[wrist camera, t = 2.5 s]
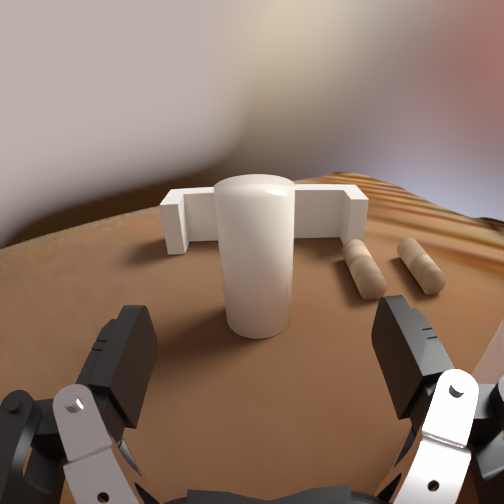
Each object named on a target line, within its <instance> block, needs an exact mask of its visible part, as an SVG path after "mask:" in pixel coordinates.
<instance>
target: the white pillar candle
mask: <svg viewBox="0 0 504 504" xmlns="http://www.w3.org/2000/svg"><path fill="white" fill-rule="evenodd" d="M214 198H215V210H216V221H217V232H218V242H219V253H220V263H221V273H222V282H223V291H224V301H225V310H226V318H227V323H228V325H229V327H230V328H231V329H232V330H233V331H234V332H235V333H237V334H238V335H241V336H243V337H246V338H252V339H264V338H269V337H272V336H275V335H277V334H279V333H280V332H282V331H283V330H284V329H285V328H286V327H287V326H288V324H289V321H290V312H291V292H292V270H293V242H294V204H295V185H294V183H293V182H292V181H290V180H288V179H286V178H283V177H279V176H274V175H262V174H253V175H243V176H236V177H231V178H227V179H225V180H222V181H220V182H218V183H217V184H216V185H215V186H214Z"/></svg>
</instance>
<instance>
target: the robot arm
mask: <svg viewBox="0 0 504 504" xmlns="http://www.w3.org/2000/svg"><path fill="white" fill-rule="evenodd" d="M371 337H372V345H373V348H374V351H375V353H376V356H377V359H378V361H379V364H380V367H381V370H382V373H383V375H384V378H385V381H386V384H387V387H388V390H389V393H390V396H391V399H392V402H393V405H394V408H395V411H396V414H397V417H398V420H400V419H405V418H409V417H410V420H411V423H412V424H411V426H410V427H409V429H408V432H407V434H406V436H405V439H404V441H403V443H402V445H401V448H400V450H399V452H398V454H397V456H396V458H395V460H394V462H393V464H392V466H391V468H390V470H389V472H388V473H387V475H386V477H385V478H384V479H383V481H382V482H381V484H380V485H379V487H378V489H377V490H376V492H375V494H374V495H369V494H366V493H361V492H355V491H350V485H349V484H344V485H337V486H330V487H323V488H314V489H309V490H306V491H303V492H299V493H296V494H293V495H290V496H286V497H283V498H279V499H275V500H271V501H266V500H260V499H255V498H251V497H246V496H242V495H237V494H233V493H229V492H217V491H201V490H189V489H188V492H187V497H183V498H179V499H174V500H171V501H168V502H166V503H163V501H162V500H161V498H160V497H159V495H158V494H157V493H156V491H155V490H154V489H153V487H152V486H151V485H150V484H149V482H148V481H147V479H146V478H145V476H144V474H143V473H142V471H141V469H140V467H139V465H138V464H137V462H136V460H135V458H134V456H133V455H132V453H131V451H130V449H129V447H128V445H127V443H126V441H125V439H124V437H123V436H122V435H123V432H124V428H125V427H127V428H134V429H136V427H137V423H138V419H139V416H140V412H141V408H142V404H143V401H144V397H145V393H146V390H147V386H148V383H149V379H150V376H151V372H152V369H153V365H154V362H155V358H156V355H157V349H158V343H157V337H156V334H155V331H154V328H153V325H152V321H151V318H150V315H149V312H148V309H147V307H146V306H144V305H125V306H123V308H122V310H121V312H120V314H119V316H118V318H117V319H111V320H110V321H109V322H108V323H107V324H106V325H105V326H104V327H103V328H102V329H101V331H100V333H99V335H98V337H97V339H96V342H95V343H94V345H93V347H92V351H90V353H89V356H88V358H87V360H86V362H85V364H84V366H83V368H82V370H81V373H80V375H79V377H78V379H77V381H76V383H75V384H73V385H69V386H66V387H64V388H63V389H61V390H60V391H59V392H58V393H57V395H56V396H55V398H54V399H45V400H35V401H34V400H33V398H32V397H31V396H30V395H29V393H27V392H26V391H23V390H16V391H13V392H11V393H10V394H8V395H7V396H6V397H5V398H4V400H3V401H2V403H1V405H0V504H59V503H60V499H61V494H62V489H63V485H64V480H65V476H66V479H67V481H68V484H69V487H70V489H71V492H72V494H73V497H74V499H75V502H76V504H455V503H456V500H457V497H458V495H459V492H460V489H461V486H462V483H463V480H464V477H465V474H466V471H467V468H468V465H469V464H470V468H471V471H472V475H473V479H474V483H475V487H476V491H477V495H478V499H479V504H504V441H503V439H502V436H501V432H502V431H504V375H503V376H502V377H501V378H500V379H499V381H498V382H497V384H479V383H476V382H475V381H474V379H473V378H472V377H471V376H470V375H469V374H467V373H465V372H463V371H459V370H456V369H455V368H454V366H453V364H452V362H451V360H450V358H449V356H448V355H447V353H446V351H445V349H444V347H443V345H442V344H441V342H440V340H439V338H437V335H436V333H435V331H434V330H432V326H431V325H430V323H429V321H428V320H427V318H426V317H425V316H424V315H423V314H422V313H421V312H419V311H418V310H417V309H416V308H411V309H410V307H409V305H408V303H407V302H406V300H405V298H404V297H403V296H402V295H397V296H386V297H381V298H380V300H379V303H378V307H377V312H376V316H375V320H374V324H373V328H372V334H371ZM30 446H31V447H32V448H33V449H32V452H31V455H30V458H29V461H28V465H27V468H26V471H25V475H24V477H23V466H24V463H25V460H26V457H27V453H28V450H29V447H30Z"/></svg>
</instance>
